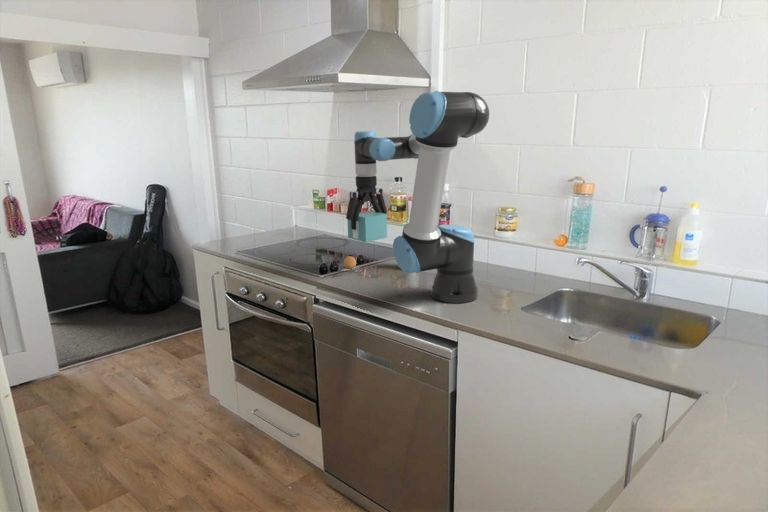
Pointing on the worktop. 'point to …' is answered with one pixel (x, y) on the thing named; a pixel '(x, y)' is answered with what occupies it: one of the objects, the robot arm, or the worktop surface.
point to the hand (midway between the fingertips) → (367, 235)
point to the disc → (345, 267)
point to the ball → (349, 262)
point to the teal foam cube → (370, 226)
